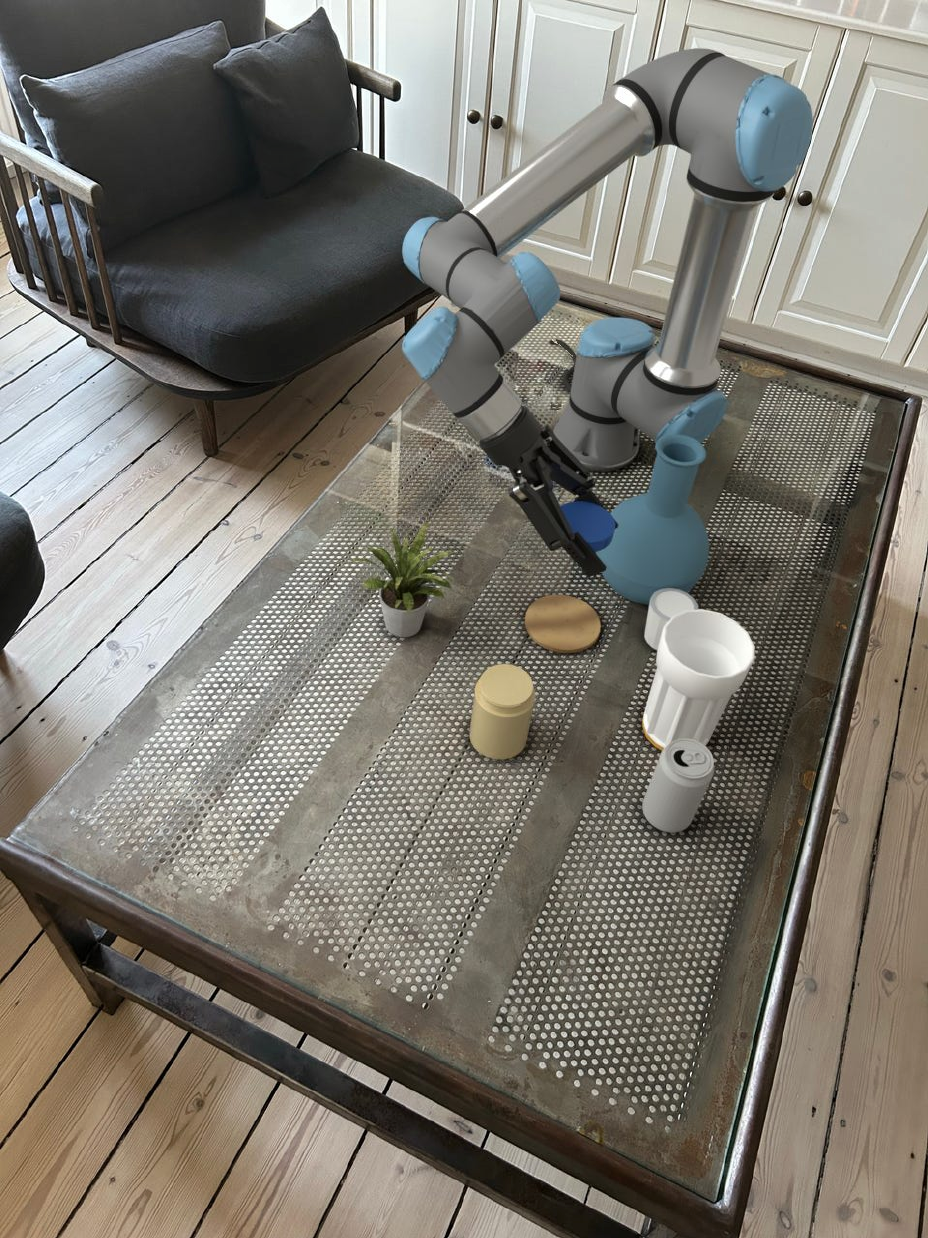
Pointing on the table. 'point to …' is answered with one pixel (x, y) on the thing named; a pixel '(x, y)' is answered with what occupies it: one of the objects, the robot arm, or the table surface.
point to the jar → (502, 711)
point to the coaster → (562, 623)
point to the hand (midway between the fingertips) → (603, 550)
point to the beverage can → (678, 785)
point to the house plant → (406, 584)
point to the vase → (659, 528)
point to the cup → (695, 676)
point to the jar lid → (590, 523)
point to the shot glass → (665, 611)
